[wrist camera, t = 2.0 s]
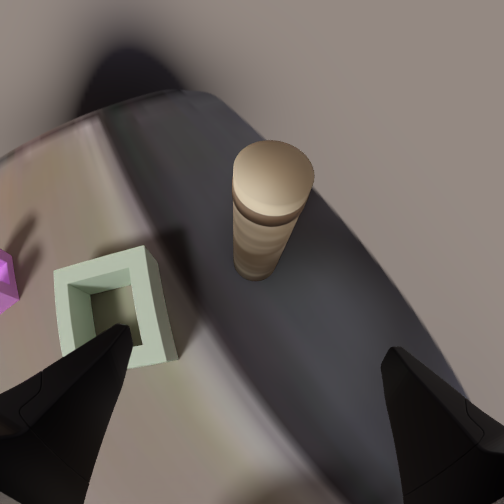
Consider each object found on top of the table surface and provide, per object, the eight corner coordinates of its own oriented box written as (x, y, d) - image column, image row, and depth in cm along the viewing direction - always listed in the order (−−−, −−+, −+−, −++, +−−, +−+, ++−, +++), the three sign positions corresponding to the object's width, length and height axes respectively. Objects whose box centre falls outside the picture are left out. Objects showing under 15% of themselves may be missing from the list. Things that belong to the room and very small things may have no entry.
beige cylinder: (247, 289, 23) (260, 220, 11) (225, 252, 24) (217, 157, 12) (285, 268, 23) (331, 185, 12) (262, 232, 24) (284, 130, 13)
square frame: (178, 359, 20) (166, 361, 17) (90, 374, 19) (66, 376, 15) (157, 262, 23) (144, 245, 19) (76, 283, 22) (53, 270, 18)
